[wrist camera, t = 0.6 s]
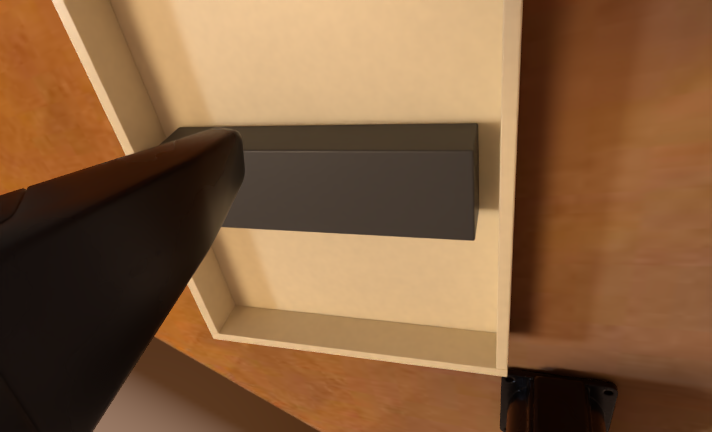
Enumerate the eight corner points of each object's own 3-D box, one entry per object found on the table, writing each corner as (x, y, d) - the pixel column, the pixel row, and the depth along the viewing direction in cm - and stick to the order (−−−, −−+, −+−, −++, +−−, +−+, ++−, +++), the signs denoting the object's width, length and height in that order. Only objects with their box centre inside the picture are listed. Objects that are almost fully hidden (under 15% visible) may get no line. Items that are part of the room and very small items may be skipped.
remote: (478, 122, 21) (473, 153, 20) (479, 209, 24) (474, 244, 22) (178, 126, 26) (149, 152, 24) (207, 199, 29) (183, 228, 27)
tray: (509, 332, 30) (507, 377, 27) (234, 303, 35) (213, 339, 33) (529, -154, 16) (528, -149, 14) (76, -78, 21) (20, -64, 19)
